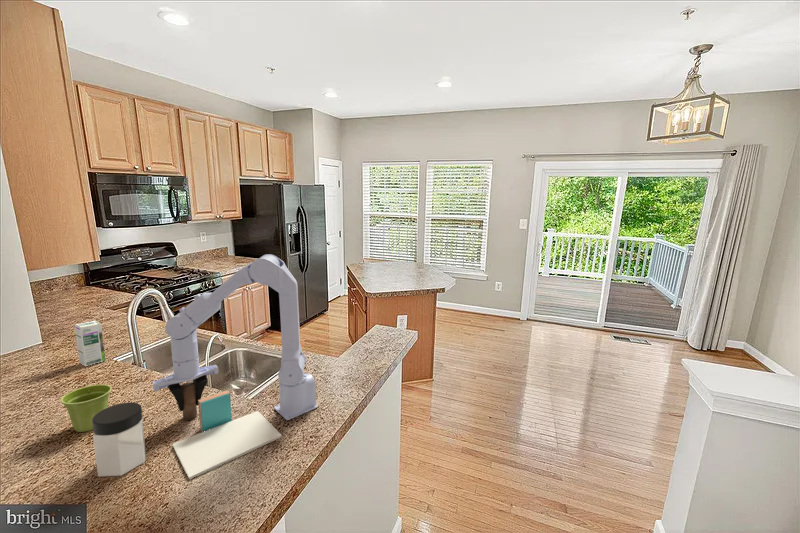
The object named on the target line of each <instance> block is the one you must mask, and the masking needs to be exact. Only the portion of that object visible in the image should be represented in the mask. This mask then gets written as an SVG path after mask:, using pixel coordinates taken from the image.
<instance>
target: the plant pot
mask: <svg viewBox="0 0 800 533" xmlns="http://www.w3.org/2000/svg"><path fill="white" fill-rule="evenodd" d="M112 389H113V388H112V386H111V385H109V384H92V385H87V386H84V387H83V386H82V387H81V388H80V387H79V388H77V389H75V390H72V391H70V392H68V393H65V395H63V396H62V397H61V398H60V402H61V403H62V405H64V408H66V410H67V413H68V416H69V418H70V422H71V424H72V427H73V430H74V431H76V432H77V433H84V432H90V431H93V424H92V419H93V417H94V416H95V415H96V414H97V413H99V412H100V411H102V410H104V409H106V408H108V407H109V406H108V403H109V396H110V394H111V393H110V392H111V391H112Z"/></svg>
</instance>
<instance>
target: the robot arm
mask: <svg viewBox="0 0 800 533" xmlns="http://www.w3.org/2000/svg"><path fill="white" fill-rule="evenodd" d="M255 282H256V283H257V284H261V285H264V286H268V287H270V288H271V289H272V290H274V291H275V292H277V293H278V298H279V313H280V314H279V316H280V333H281V360H280V361H281V362H280V364H281V365H280V368H279V371H278V374H277V376H278V381H279V382H278V385H279V386H278V388H279V389H278V390H279V404H278V405H275V406H274V407H273V409H274V410H275V411H276V412H277V413H278V414H280V416H281V417H283V418H284V419H285V420H286V421H289V420H292V419H294V418H296V417H299V416H301V415H304V414H306V413H308V412H310V411H313V410H315V409H316V408H317V409H318V406H319V405H317V383H316V380H315V378H314V376H313V375H312V374H311V373H305V371H304V370H305V365H306V363H307V362H306V361H307V360H306V356H305V354H304V353H303V349H302V347H303V346H302V345H301V331H300V330H301V329H300V308H299V287H298V285H299V284H298V281H297V280H296V278H295V277H294V276H293V274H292V273H291V271H290V270H289V269H288V267H287V265H286V263H285V261H283V260H282V259H281V258H279V257H278V256H276V255H274V254H271V253H270V254H267V253H266V254H264V255H262V256H260V257H259V258H257V259H256V260H253V262H250V263H249V264H247V265H245V266H244V267H242V268H240V269H239V270H237V271H236V272H235V273H234V274H233V275H231V276H230V277H229V278H227V279H226V281H224V282H223V283H221V285H220V286H218V287H217V288H216V289H215V290H214V291H213V292H203V293H202V294H201V293H198V294H196V295H195V296H194V297H193V299H194V300H193V301H192V302H190V303H189V304H188V305H186V307H185V306H183V307H181V308H180V309H179V310H178V311H179V312H178V313H177V314H176V315H174V316H171V317H170V318H169V320H168V321H167V322H166V324H165V328H164V329H165V332H166V334H167V336H169V337H170V346H171V347H170V348H171V359H172V369H173V374H170V375H167V376H164V377H162V378H159V379H157V380H154V381H152V389H153V392H159V391H160V390H162V389H165V388H168V390H169V391H170V393H171V394H172V395H173V397H174V399H175V402H176V403H177V406H178V410H179V411H180V412H183V410H184V407H183V401H182V388H181V385H182V384H181V383H183V384H184V383H187V382H194V383H195V393H196V406H199V405H198V400H200V399H202V396H203V392H204V390H205V389H206V386H207V384H208V381H209V380H208V378H207V376H210V375H218V374H219V367H218V366H217V364H213V365H208V366H201V367H200V361H199V360H200V359H199V346H198V333H197V329H198V328H199V327H200V326H201V325H203V323H204V322H206V321H208V319H209V318H211V317H213V316H214V314H216V313H217V312H218V311H220V310H221V309H222V301H224V300H225V299H226V298H227V297H229V296H230V295H231V294H232V293H234V292H236V291H237V290H238V289H239V288H240V287H242V286H243V285H252V284H253V283H255Z"/></svg>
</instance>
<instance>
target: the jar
mask: <svg viewBox="0 0 800 533" xmlns="http://www.w3.org/2000/svg"><path fill="white" fill-rule="evenodd" d="M92 424H93V430H92V432H93V435H92V438H93V447H94V455H95V463H96V470H97V477H99V478H100V477H120V476H121V477H122V476H125V474H127V473H128V472H130V471H132V470H134V469H136V468H137V467H138V466H140V465H142V464H143V463H145V462H146V452H147V451H146V441H145V432H144V430H145V429H144V421H143V409H142V405H141V404H140V403H137V402H123V403H118V404H115V405H112V406H108V407H107V408H106V409H104V410H102V411H100V412H99V413H97V414H96V415H95V416H94V417H93V419H92Z"/></svg>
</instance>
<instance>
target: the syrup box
mask: <svg viewBox="0 0 800 533" xmlns="http://www.w3.org/2000/svg"><path fill="white" fill-rule="evenodd" d="M102 327H103V326H102V323H101V322H100V321H97V320H92V321H87V322H82V323H77V324H74V333H75V339H76V346H77V354H78V361H79V362H80V363H81V364H82V365H81V364H80V363H79V364H80V365H81V366H83V365H84V366H88V365H91V366H93V365H92V364H94V365H96V364H95V363H98V364H100V363H99V362H102V363H104V362H103V361H105V362H106V361H107V360H106V352H105V345H104V335H103V328H102ZM84 366H83V367H84ZM88 367H89V366H88Z"/></svg>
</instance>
